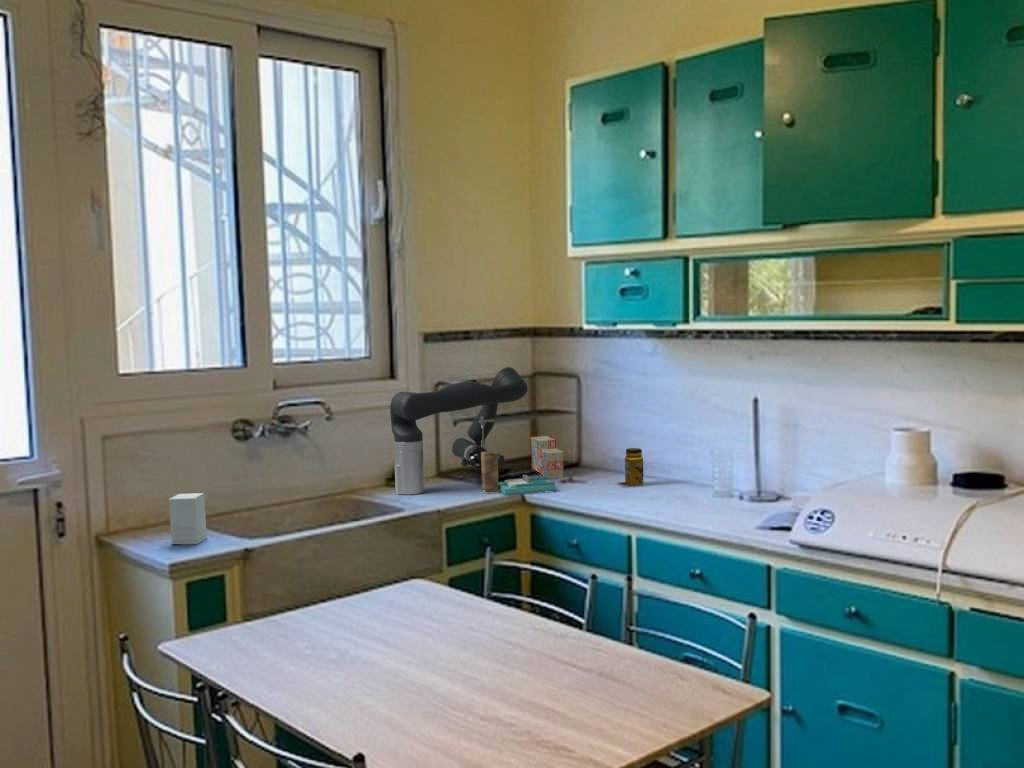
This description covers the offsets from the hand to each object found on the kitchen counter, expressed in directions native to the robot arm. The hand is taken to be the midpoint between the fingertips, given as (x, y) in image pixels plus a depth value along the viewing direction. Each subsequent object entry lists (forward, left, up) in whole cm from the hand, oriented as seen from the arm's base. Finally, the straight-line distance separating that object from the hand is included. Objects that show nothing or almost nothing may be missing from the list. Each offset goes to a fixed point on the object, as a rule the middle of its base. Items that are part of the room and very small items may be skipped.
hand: (487, 463), depth 336 cm
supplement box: (-93, -43, -9) cm, 103 cm away
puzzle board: (+11, -8, -8) cm, 16 cm away
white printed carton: (+26, +19, -9) cm, 34 cm away
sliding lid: (+9, -8, -6) cm, 13 cm away
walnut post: (-1, -6, -8) cm, 11 cm away
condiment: (+46, -12, -9) cm, 49 cm away
